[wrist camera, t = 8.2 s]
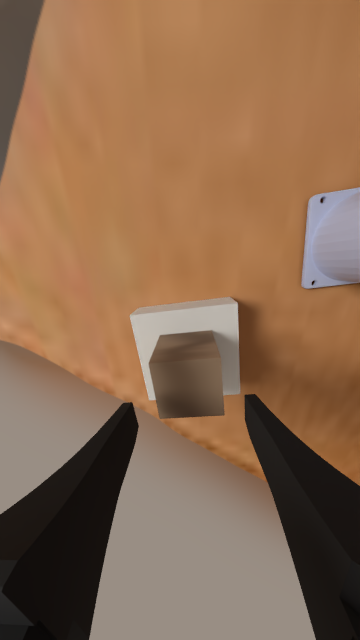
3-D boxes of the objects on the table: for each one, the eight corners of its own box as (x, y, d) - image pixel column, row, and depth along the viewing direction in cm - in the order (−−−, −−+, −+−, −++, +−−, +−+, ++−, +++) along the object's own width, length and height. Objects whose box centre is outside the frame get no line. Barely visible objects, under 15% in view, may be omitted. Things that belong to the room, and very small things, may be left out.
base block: (230, 296, 18) (237, 302, 15) (233, 376, 21) (240, 393, 18) (138, 307, 19) (129, 315, 16) (154, 382, 22) (149, 400, 19)
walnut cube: (211, 330, 16) (221, 357, 12) (214, 374, 18) (224, 415, 13) (159, 335, 17) (148, 363, 12) (167, 378, 18) (159, 418, 13)
